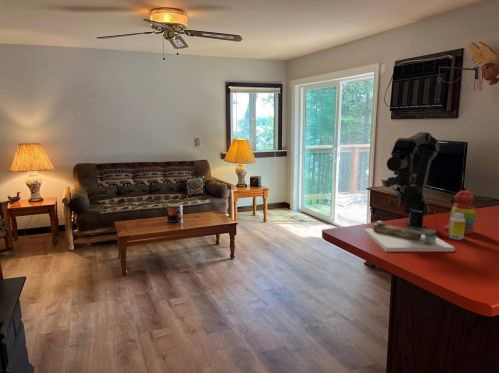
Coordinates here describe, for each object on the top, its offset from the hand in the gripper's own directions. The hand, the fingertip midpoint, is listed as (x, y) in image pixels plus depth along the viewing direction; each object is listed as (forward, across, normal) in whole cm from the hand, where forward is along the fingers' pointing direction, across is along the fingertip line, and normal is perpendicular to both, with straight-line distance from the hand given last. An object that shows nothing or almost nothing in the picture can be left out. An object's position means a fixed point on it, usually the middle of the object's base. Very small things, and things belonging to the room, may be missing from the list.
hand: (401, 206), depth 153 cm
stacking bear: (+12, -4, +29) cm, 31 cm away
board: (+12, +10, -2) cm, 15 cm away
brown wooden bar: (+10, +7, -5) cm, 13 cm away
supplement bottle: (+12, +6, +21) cm, 25 cm away
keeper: (+10, +15, +1) cm, 18 cm away
